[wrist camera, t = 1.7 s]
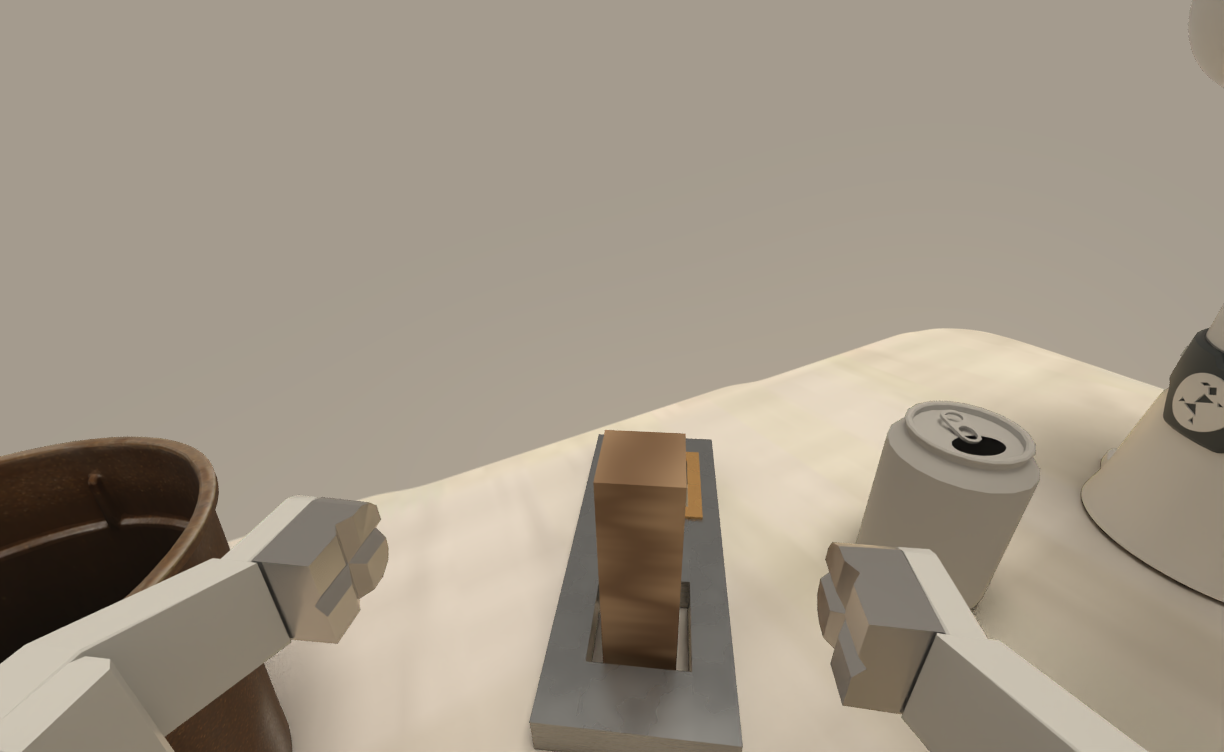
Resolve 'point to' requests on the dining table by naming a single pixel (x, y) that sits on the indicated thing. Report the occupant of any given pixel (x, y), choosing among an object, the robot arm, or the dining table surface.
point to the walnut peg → (640, 545)
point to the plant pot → (120, 558)
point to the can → (952, 489)
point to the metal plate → (637, 696)
